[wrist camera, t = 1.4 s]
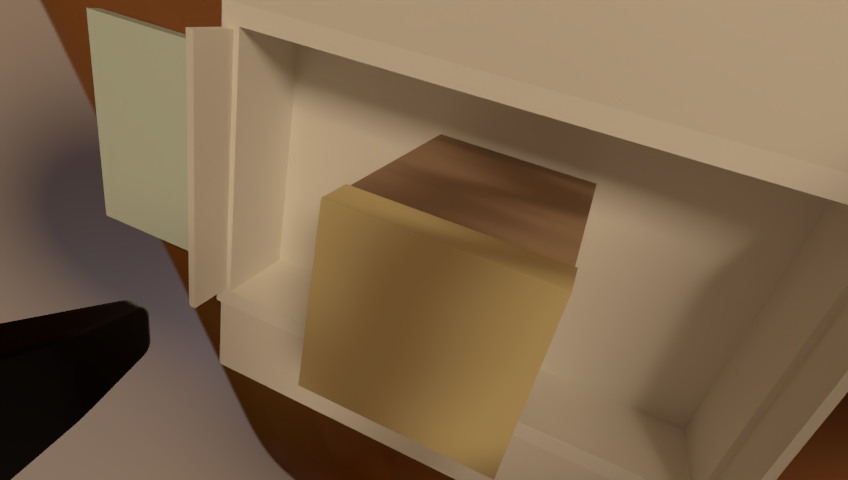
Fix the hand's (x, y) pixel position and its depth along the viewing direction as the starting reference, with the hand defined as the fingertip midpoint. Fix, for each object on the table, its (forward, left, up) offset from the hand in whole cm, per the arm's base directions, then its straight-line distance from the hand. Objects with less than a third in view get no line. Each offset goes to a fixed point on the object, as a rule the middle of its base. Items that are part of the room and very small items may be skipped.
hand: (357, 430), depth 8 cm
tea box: (0, 0, -10) cm, 10 cm away
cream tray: (0, 0, -10) cm, 10 cm away
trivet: (+13, +2, -10) cm, 17 cm away
